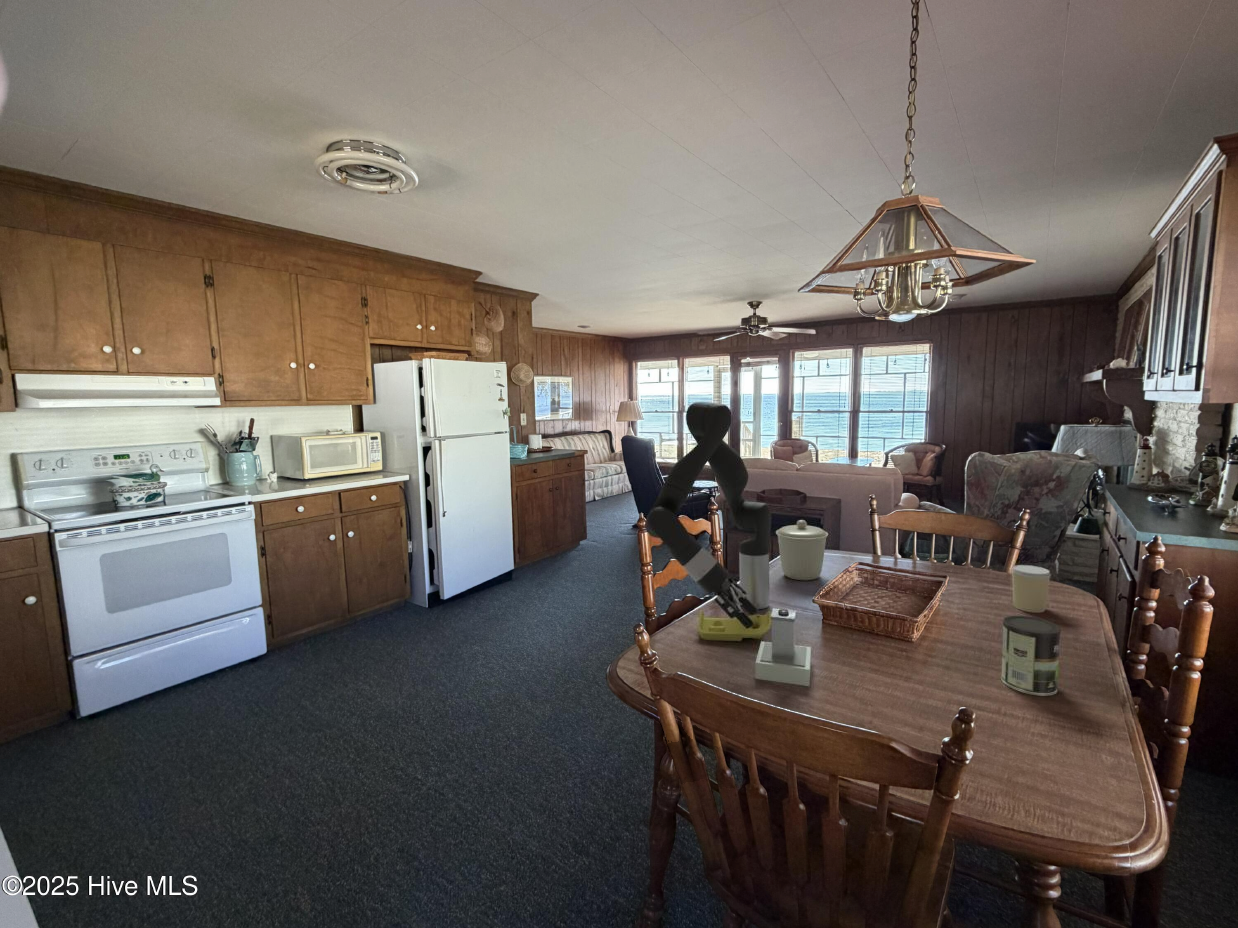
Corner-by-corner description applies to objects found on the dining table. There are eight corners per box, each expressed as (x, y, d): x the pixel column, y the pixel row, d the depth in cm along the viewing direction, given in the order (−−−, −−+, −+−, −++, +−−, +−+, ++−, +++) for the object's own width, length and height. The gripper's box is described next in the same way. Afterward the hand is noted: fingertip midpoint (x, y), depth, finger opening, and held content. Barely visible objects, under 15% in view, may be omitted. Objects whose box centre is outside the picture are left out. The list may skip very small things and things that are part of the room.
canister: (793, 565, 216) (793, 513, 213) (837, 576, 202) (837, 519, 199) (766, 576, 204) (765, 520, 202) (810, 588, 190) (810, 528, 188)
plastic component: (696, 632, 151) (701, 605, 160) (701, 650, 155) (705, 623, 163) (771, 634, 145) (771, 606, 153) (773, 653, 149) (774, 625, 157)
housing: (773, 647, 137) (772, 605, 135) (795, 649, 135) (795, 608, 133) (770, 656, 132) (770, 614, 130) (794, 659, 130) (794, 616, 128)
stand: (761, 656, 141) (761, 640, 141) (810, 662, 137) (810, 645, 136) (755, 678, 130) (755, 661, 130) (809, 686, 126) (809, 668, 125)
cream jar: (1046, 605, 168) (1048, 567, 167) (1050, 615, 160) (1052, 575, 159) (1009, 600, 173) (1011, 563, 172) (1011, 610, 165) (1013, 571, 164)
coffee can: (1054, 679, 125) (1057, 619, 124) (1060, 701, 116) (1064, 637, 115) (999, 669, 131) (1001, 611, 129) (1001, 689, 122) (1004, 627, 120)
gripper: (711, 569, 130) (761, 621, 127) (721, 553, 143) (766, 599, 140) (689, 588, 132) (738, 640, 129) (701, 571, 145) (745, 617, 143)
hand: (753, 619), depth 135 cm, fingers open, 8 cm apart
